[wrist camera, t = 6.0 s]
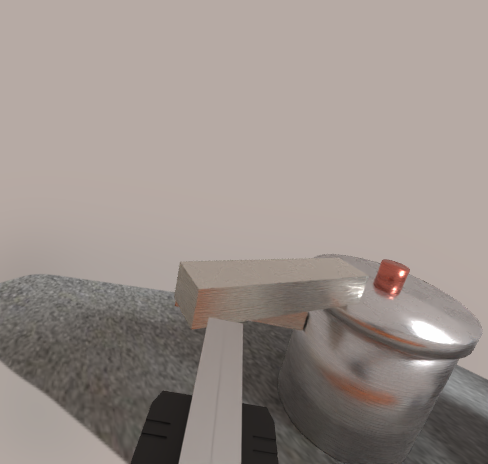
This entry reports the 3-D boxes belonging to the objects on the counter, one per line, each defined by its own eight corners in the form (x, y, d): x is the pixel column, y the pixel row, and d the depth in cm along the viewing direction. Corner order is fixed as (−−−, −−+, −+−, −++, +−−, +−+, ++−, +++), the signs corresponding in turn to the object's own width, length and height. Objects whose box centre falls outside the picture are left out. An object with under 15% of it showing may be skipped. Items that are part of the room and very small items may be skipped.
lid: (366, 264, 38) (377, 235, 37) (504, 340, 26) (526, 301, 25) (150, 274, 24) (156, 227, 22) (235, 455, 12) (258, 375, 10)
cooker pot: (375, 364, 39) (410, 284, 35) (443, 482, 25) (509, 372, 22) (180, 327, 37) (196, 240, 34) (143, 431, 24) (163, 305, 20)
